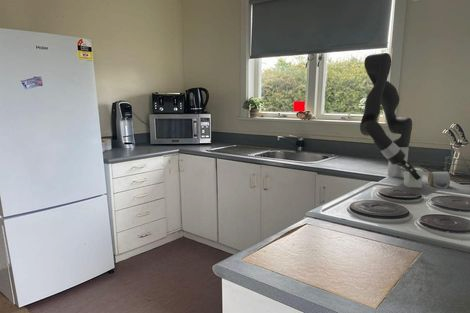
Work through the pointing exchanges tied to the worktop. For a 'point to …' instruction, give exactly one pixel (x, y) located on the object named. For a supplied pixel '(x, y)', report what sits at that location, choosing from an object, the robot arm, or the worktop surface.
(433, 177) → the ceramic mug
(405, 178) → the pale green block
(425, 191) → the mat
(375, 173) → the worktop surface
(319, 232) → the worktop surface
